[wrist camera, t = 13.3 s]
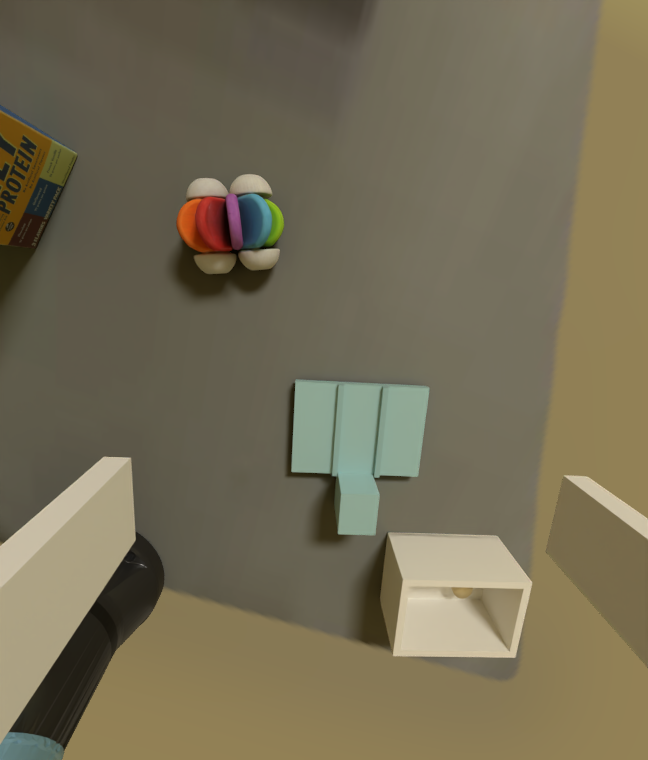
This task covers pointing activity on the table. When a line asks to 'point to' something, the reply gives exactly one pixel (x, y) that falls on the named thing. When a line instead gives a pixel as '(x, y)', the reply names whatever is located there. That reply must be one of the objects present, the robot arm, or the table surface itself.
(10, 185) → the protein box
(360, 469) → the lid
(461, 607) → the tub
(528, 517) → the table surface
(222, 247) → the rainbow disc toy
